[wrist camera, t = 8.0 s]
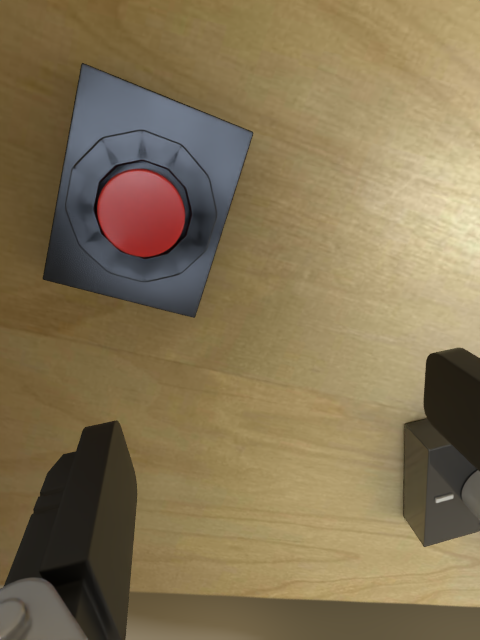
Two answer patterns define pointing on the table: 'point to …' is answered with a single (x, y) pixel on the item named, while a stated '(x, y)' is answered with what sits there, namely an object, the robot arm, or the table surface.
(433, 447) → the rotary switch
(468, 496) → the knob
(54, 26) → the table surface
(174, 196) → the button
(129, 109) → the switch block
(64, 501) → the robot arm
